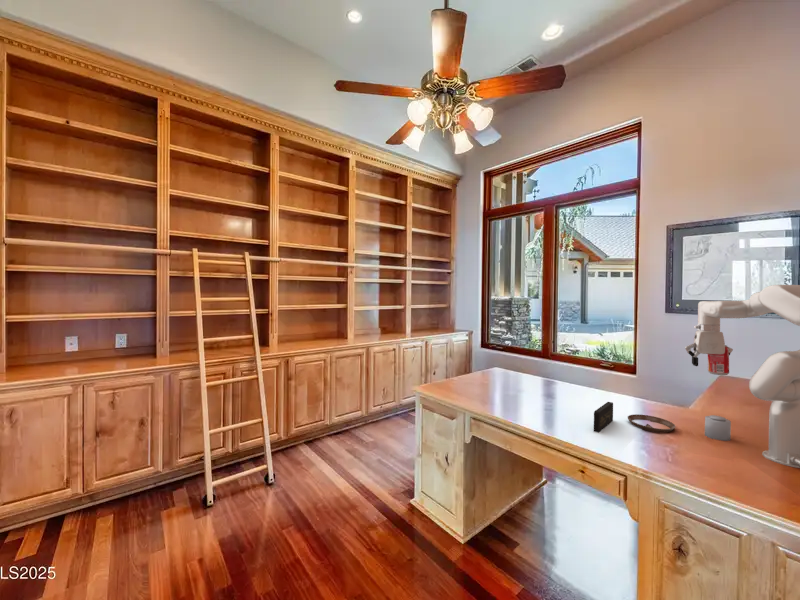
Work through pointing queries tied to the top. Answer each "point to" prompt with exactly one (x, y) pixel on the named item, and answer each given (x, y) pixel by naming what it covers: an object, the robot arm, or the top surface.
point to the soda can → (719, 363)
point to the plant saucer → (652, 419)
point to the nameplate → (603, 416)
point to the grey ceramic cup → (718, 428)
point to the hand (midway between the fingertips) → (708, 366)
